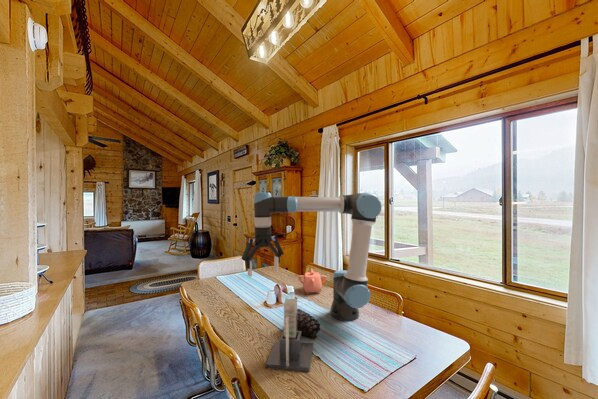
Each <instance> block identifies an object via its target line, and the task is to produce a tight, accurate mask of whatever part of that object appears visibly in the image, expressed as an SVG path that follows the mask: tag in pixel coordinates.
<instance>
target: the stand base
mask: <svg viewBox="0 0 598 399" xmlns="http://www.w3.org/2000/svg"><path fill="white" fill-rule="evenodd" d="M289 321H290V318H289V316H286V339H284V329H283V330H282V332H281V335H280V338H279V340H275V341H274V343H273V347H272V348H271V351H270V353H269V355H268V358H267V361H266V362H265V369H271V370H283V371H293V372H295V371H296V372H310V370H311V364H312V357H313V351H314V343H310V342H303V340H302V339H303V337H302V331H297V339H289Z"/></svg>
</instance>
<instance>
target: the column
mask: <svg viewBox="0 0 598 399" xmlns="http://www.w3.org/2000/svg"><path fill="white" fill-rule="evenodd" d="M297 309H298V299H295V298H294V299H293V298H285V300H284V302H283V330H284V339H286V316H289V318H290V321H289V339H297Z"/></svg>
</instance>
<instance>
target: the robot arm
mask: <svg viewBox="0 0 598 399" xmlns="http://www.w3.org/2000/svg"><path fill="white" fill-rule="evenodd" d="M253 211H254V213H253V214H254V218H253V219H254V226H255V227H254V238H250V237H249V238H248V239H247V244H246V247H245V249H244V252H243V253H242V256H241V260H242V261H244V262H245V268H246V269H247V276H248V277H253V265H252V263H253V261H252V259H253V257H254V256H255V254H256V253H257V251H258V250H259V249H260V248H267V247H268V248H269V249H270V251H271V252H272V253H273V254H274V255H275V256H274V257H273V261H274V262H273V264H274V265H273V266H274V267H273V269H274V271H275V272H279V271H280V269H279V268H280V267H279V264H280V263H281V257H282V256H283V255H284V253H285V252H284V250H283V248H282V247H281V244H280V242H279V239H278V236H277V235H272V227H271V226H272V214H284V213H285V214H291V213H292V214H293V213H296V212H330V213H331V212H333V213H334V212H339V214H346V215H350V216H351V217H350V219H351V221H352V222H353V226H352V232H351V234H352V235H351V242H350V250H349V256H348V257H349V258H348V265H347V270H344V269H343V270H335V271H334V272H333V275H332V279H333V280H332V282H333V283H332V285H333V286H332V288H333V289H332V291H333V292H332V294H333V296H332V297H333V299H332V302H331V306H330V308H329V315H330V316H331V318H333V319H336V320H338V321H342V322H343V321H344V322H345V321H348V322H349V321H350V322H351V321H355V320H357V319H358V318H359V317H360V311H359V309H361V308H364V307H365V306H366V305H368V303H369V301H370V299H371V291H370V289H369V288H368V283H369V278H368V277H367V274H366V273H367V266H368V258H369V250H370V244H371V243H370V242H371V235H372V227H373V225H374V224H376V221H377V217H378V216H379V215H380V213H381V212H382V202H381V199H380V198H379V197H378V196H377V195H376V194H374V193H370V192H362V193H360V192H359V193H358V192H357V193H352V194H344V195H343V194H341V195H339V196H290V195H288V196H287V195H286V196H272V194H271V192H255V193H254V197H253ZM271 241H273V244H274V245H273V244H272V242H271ZM253 244H254V245H253ZM274 246H275V247H274Z"/></svg>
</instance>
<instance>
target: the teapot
mask: <svg viewBox="0 0 598 399" xmlns="http://www.w3.org/2000/svg"><path fill="white" fill-rule="evenodd" d="M327 277H328V276H327V275H323V274H322V275H321V274H320V272H316V271H314V269H313V268H311V269H310V272H309V271H308V272H305V273H304V275H302V274H301V275H298V276H297V279H298V281H299V282H300V283H301V284H302V287H303V290H304V292H305V294H306V295H308V294H310V293H315V294H316V295H319V294H320V293H321V291H322V288H323V284H324V283H325V282H326V280H327V279H328V278H327ZM302 278H303V280H302ZM322 278H323V279H322Z"/></svg>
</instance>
